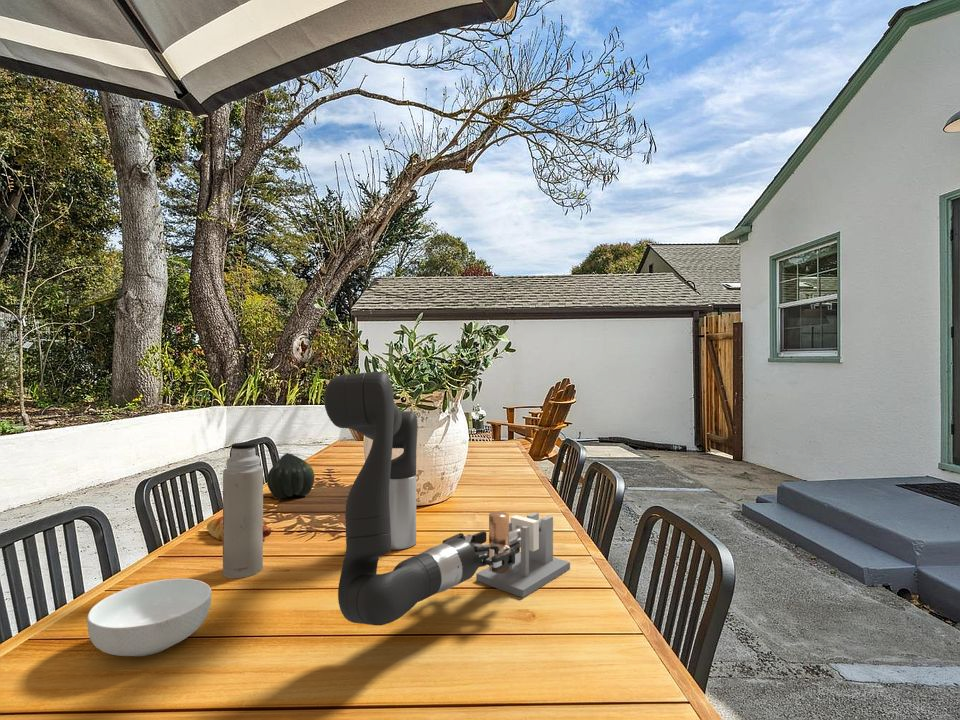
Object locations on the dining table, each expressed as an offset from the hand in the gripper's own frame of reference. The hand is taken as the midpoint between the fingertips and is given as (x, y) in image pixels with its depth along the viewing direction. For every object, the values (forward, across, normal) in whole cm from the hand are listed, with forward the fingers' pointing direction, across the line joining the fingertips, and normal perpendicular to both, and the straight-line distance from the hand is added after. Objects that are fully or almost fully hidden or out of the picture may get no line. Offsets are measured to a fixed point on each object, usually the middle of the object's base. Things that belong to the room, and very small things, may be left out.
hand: (501, 540), depth 103 cm
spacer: (+8, 0, +4) cm, 9 cm away
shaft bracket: (+8, 0, +10) cm, 13 cm away
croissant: (-21, +71, +10) cm, 75 cm away
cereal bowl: (-53, +31, +10) cm, 62 cm away
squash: (+8, +97, +10) cm, 98 cm away
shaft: (+7, 0, +6) cm, 9 cm away
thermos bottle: (-30, +48, +10) cm, 58 cm away
